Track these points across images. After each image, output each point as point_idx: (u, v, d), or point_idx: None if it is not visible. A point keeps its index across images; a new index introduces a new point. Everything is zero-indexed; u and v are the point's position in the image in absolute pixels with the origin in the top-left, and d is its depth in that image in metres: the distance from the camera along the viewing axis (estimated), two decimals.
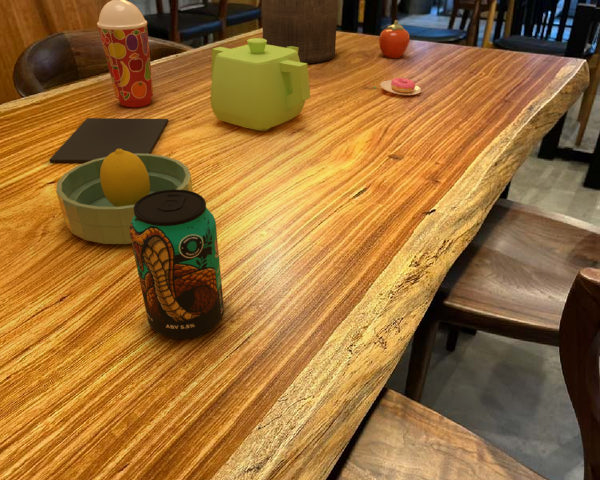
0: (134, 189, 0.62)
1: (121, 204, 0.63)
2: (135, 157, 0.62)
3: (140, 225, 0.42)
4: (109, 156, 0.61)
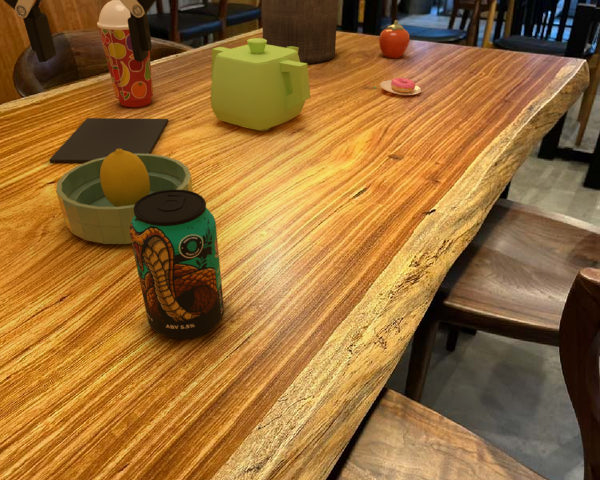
0: (134, 189, 0.62)
1: (121, 204, 0.63)
2: (135, 157, 0.62)
3: (140, 225, 0.42)
4: (109, 156, 0.61)
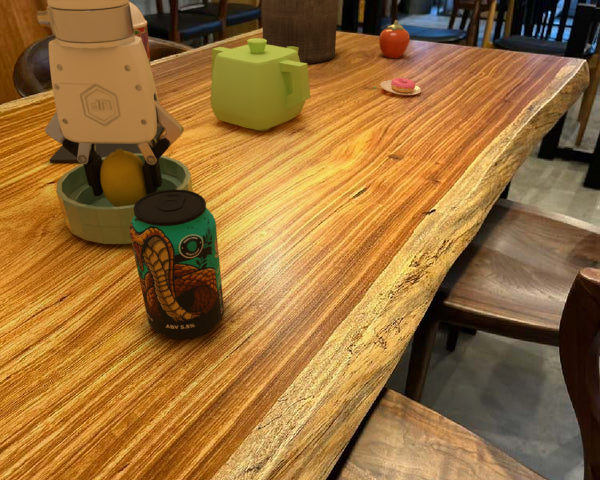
0: (134, 189, 0.62)
1: (121, 204, 0.63)
2: (135, 157, 0.62)
3: (140, 225, 0.42)
4: (109, 156, 0.61)
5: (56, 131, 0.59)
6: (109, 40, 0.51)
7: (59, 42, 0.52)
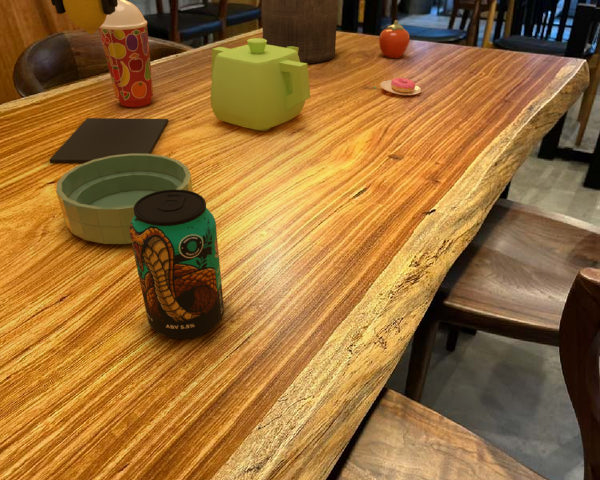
0: (91, 4, 0.70)
1: (80, 19, 0.71)
2: None
3: (140, 225, 0.42)
4: None
5: None
6: None
7: None
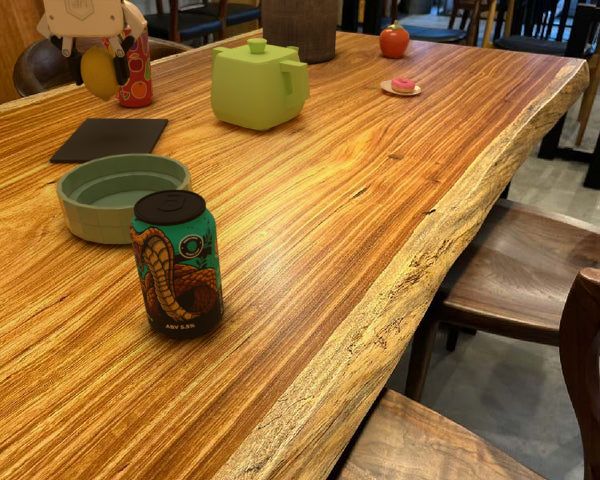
0: (107, 78, 0.78)
1: (97, 91, 0.79)
2: (108, 52, 0.78)
3: (140, 225, 0.42)
4: (87, 51, 0.77)
5: (45, 29, 0.76)
6: None
7: None
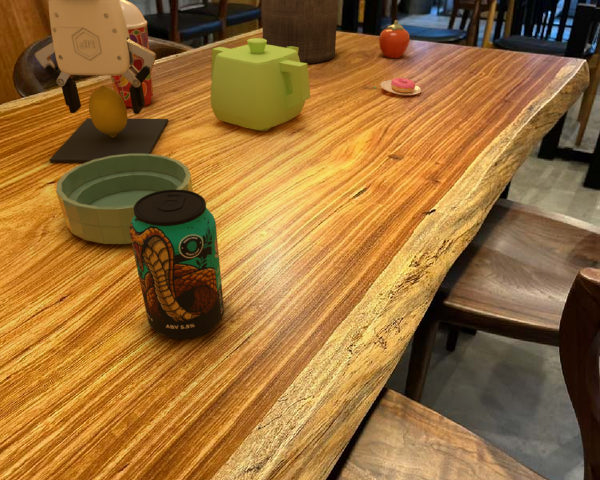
0: (114, 116, 0.81)
1: (105, 128, 0.82)
2: (115, 92, 0.82)
3: (140, 225, 0.42)
4: (95, 91, 0.81)
5: (43, 58, 0.78)
6: None
7: None
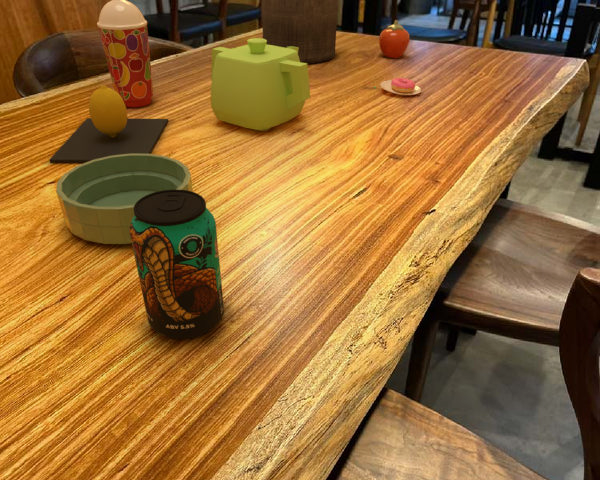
0: (114, 116, 0.81)
1: (105, 128, 0.82)
2: (115, 92, 0.82)
3: (140, 225, 0.42)
4: (95, 91, 0.81)
5: None
6: None
7: None
